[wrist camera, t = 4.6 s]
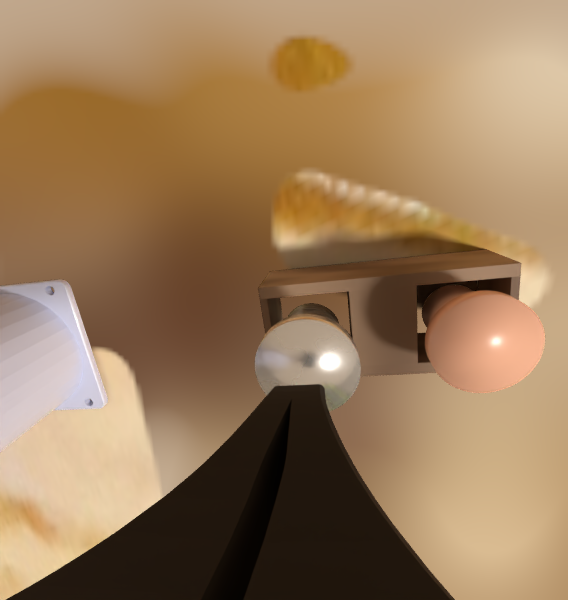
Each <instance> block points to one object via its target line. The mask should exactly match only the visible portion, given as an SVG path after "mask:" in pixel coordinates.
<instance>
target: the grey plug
mask: <svg viewBox="0 0 568 600" xmlns="http://www.w3.org/2000/svg"><path fill="white" fill-rule="evenodd" d="M255 373H256V377H257V380H258V382H259V385H260V386H261V388H262V390H263V391H264V393H265V394H266V395H268V393H269V392H270V391H271V390H272V389H273V388H274V387H275V386H287V385H310V384H321V385H322V386H323V387H324V388H325V395H326V404H327V407H328V410H329V411H332V410H334V409H336V408H338V407H340V406H341V405H343V404H344V403H345V402H346V401H348V399H349V398H350V397H351V396H352V395H353V393H354V392H355V390H356V388H357V386H358V383H359V380H360V374H361V366H360V359H359V353H358V349H357V346H356V344H355V342H354V340H353V339H352V337H351V335H350V334H349V333H348V332H347V331H346V330H345V329H344V328H343V327H342V326H341V325H339V322H338V319H337V317H336V316H335V314H334V313H333V312H332V311H331V310H329V309H328V308H327V307H325V306H322V305H319V304H314V303H310V304H304V305H301V306H298V307H297V308H295V309H294V310H293V311H292V312H291V313H290V314H289V315H288V317H287V318H285V319H283V320H281V321H279V322H277V323H276V324H275V325H273V326H272V327H271V328H270V329H269V330H268V331H267V333H266V334H265V336H264V337H263V339H262V341H261V344H260V346H259V348H258V351H257V353H256V358H255Z"/></svg>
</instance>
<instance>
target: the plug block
mask: <svg viewBox="0 0 568 600" xmlns="http://www.w3.org/2000/svg"><path fill="white" fill-rule="evenodd" d="M520 275H521V263H520V262H517V261H515V260H512V259H510V258H507V257H504V256H502V255H499V254H497V253H494V252H492V251H489V250H487V249H484V250H475V251H465V252H455V253H445V254H435V255H426V256H416V257H406V258H396V259H386V260H376V261H367V262H357V263H347V264H337V265H327V266H318V267H308V268H298V269H288V270H279V271H270V272H269V274H268V275H267V277H266V278H265V279H264V280H263V282H262V283H261V285H260V286H259V287H258V290H259V297H260V303H261V309H262V316H263V321H264V328H265V334H266V333H267V331H268V330H269V329H270V328H271V327H272V326H273V325H275V324H276V323H277V322H279V321H281V320H283V317H282V311H281V310H282V309H281V302H280V297H292V296H303V295H314V294H324V293H325V294H326V293H337V292H347V294H348V305H349V306H348V307H349V319H350V332H351V337H352V339H353V340H354V342H355V344H356V346H357V349H358V353H359V359H360V366H361V374H360V376H378V375H399V374H419V373H437V372H436V371H435V369H434V367H433V366H432V364H431V362H430V360H429V358H428V356H427V353H426V349H425V335H426V333H417V285H427V284H439V283H450V282H461V281H473V280H478V291H484V290H489V291H497V292H502V293H505V294H507V295H510V296H512V297H514V298H515V299H517V300H519V288H520Z"/></svg>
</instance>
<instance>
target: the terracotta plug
mask: <svg viewBox="0 0 568 600" xmlns="http://www.w3.org/2000/svg"><path fill="white" fill-rule="evenodd" d="M422 318H423V321H424V323H425V325H426V327H427V331H426V335H425V349H426V353H427V356H428V358H429V360H430V362H431V364H432V366H433V367H434V369H435V371H436V372H437V374H438V375H439V376H440V377H441V378H442V379H443V380H444V381H445V382H447V383H448V384H449V385H451V386H453V387H455V388H457V389H460V390H463V391H467V392H473V393H488V392H495V391H499V390H502V389H505V388H508V387H510V386H512V385H514V384H516V383H518V382H519V381H521V380H522V379H524V378H525V377H526V376H527V375H528V374H529V373H530V372H531V371H532V370H533V369H534V368H535V366H536V365H537V363H538V362H539V360H540V358H541V356H542V353H543V350H544V345H545V333H544V329H543V325H542V323H541V321H540V319H539V317H538V316H537V315H536V313H535V312H534V311H533V310H532V309H531V308H530V307H528V306H527V305H525V304H524V303H522V302H520V301H519V300H517V299H515V298H514V297H512V296H510V295H507V294H505V293H502V292H497V291H489V290H484V291H472V290H471V289H469V288H467V287H465V286H462V285H446V286H443V287H440V288H438V289H436V290H435V291H434V292H432V293H431V294H430V295H429V296H428V297H427V299H426V300H425V302H424V305H423V308H422Z"/></svg>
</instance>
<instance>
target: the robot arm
mask: <svg viewBox="0 0 568 600" xmlns="http://www.w3.org/2000/svg"><path fill="white" fill-rule="evenodd" d="M51 287H52V288H53V289H54V292H55V293H54V292H53V291H52V289H51ZM90 399H91V400H92V401H93V402H92V401H91V400H90ZM107 402H108V398H107V395H106V392H105V389H104V386H103V383H102V380H101V377H100V374H99V371H98V368H97V365H96V362H95V359H94V356H93V353H92V349H91V346H90V343H89V340H88V337H87V335H86V331H85V328H84V325H83V322H82V319H81V316H80V313H79V310H78V307H77V305H76V301H75V298H74V295H73V292H72V289H71V286H70V284H69V283H68V282H67V281H65V280H63V279H57V280H48V281H38V282H30V283H20V284H12V285H2V286H0V452H2V451H3V450H4V449H5V448H7V447H8V446H9V445H10V444H12V443H13V442H14V441H15V440H17V439H18V438H19V437H20V436H22V435H23V434H24V433H25V432H27V431H28V430H29V429H30V428H32V427H33V426H34V425H35V424H37V423H38V422H39V421H40V420H42V419H43V418H44V417H45V416H47V415H48V414H49V413H50V412H52V411H53V410H74V409H100V408H103V407H104V406H105V405H106V404H107ZM6 600H455V599H454V598H453V597H452V596H451V595H450V594H449V593H448V591H447V590H446V589H445V588H444V587H443V586H442V584H441V583H440V582H439V581H438V580H437V579H436V578H435V576H434V575H433V574H432V573H431V572H430V570H429V569H428V568H427V567H426V565H425V564H424V563H423V562H422V560H421V559H420V558H419V556H418V555H417V554H416V553H415V551H414V550H413V549H412V548H411V546H410V545H409V544H408V543H407V541H406V540H405V539H404V537H403V536H402V535H401V534H400V532H399V531H398V530H397V529H396V527H395V526H394V525H393V524H392V522H391V521H390V519H389V518H388V516H387V515H386V514H385V512H384V511H383V509H382V508H381V506H380V505H379V504H378V502H377V501H376V500H375V498H374V496H373V495H372V493H371V492H370V490H369V489H368V487H367V485H366V484H365V482H364V481H363V479H362V478H361V476H360V474H359V473H358V471H357V469H356V468H355V466H354V464H353V462H352V460H351V458H350V457H349V455H348V453H347V451H346V449H345V447H344V445H343V443H342V441H341V439H340V437H339V435H338V433H337V430H336V428H335V426H334V424H333V421H332V419H331V416H330V413H329V410H328V407H327V404H326V395H325V388H324V387H323V386H322V385H321V384H310V385H287V386H275V387H274V388H273V389H272V390H271V391H270V392H269V393H268V395H267V396H266V397H265V398H264V399H263V401H262V402H261V403H260V404H259V405H258V406H257V408H256V409H255V410H254V411H253V412H252V413H251V415H250V416H249V417H248V418H247V419H246V420H245V421H244V422H243V424H242V425H241V426H240V427H239V428H238V429H237V430H236V431H235V432H234V434H233V435H232V436H231V437H230V438H229V439H228V440H227V441H226V442H225V443H224V444H223V445H222V446H221V447H220V448H219V449H218V450H217V451H216V452H215V453H214V454H213V455H212V456H211V457H210V458H209V459H208V460H207V461H206V462H205V463H204V464H202V465H201V466H200V467H199V468H198V469H197V470H196V471H195V472H193V473H192V474H191V475H190V476H189V477H188V478H186V479H185V480H184V481H183V482H182V483H180V484H179V485H178V486H177V487H176V488H174V489H173V490H172V491H171V492H170V493H168V494H167V495H166V496H165V497H163V498H162V499H161V500H159V501H158V502H157V503H155V504H154V505H152V506H151V507H150V508H148V509H147V510H146V511H144V512H143V513H142V514H140V515H139V516H137V517H136V518H135V519H133V520H132V521H131V522H129V523H128V524H127V525H125V526H124V527H122V528H121V529H120V530H118V531H117V532H115V533H114V534H112V535H111V536H110V537H108V538H106V539H105V540H103V541H102V542H100V543H99V544H97V545H96V546H94V547H93V548H91V549H90V550H88V551H87V552H85V553H84V554H82V555H80V556H79V557H77V558H76V559H74V560H72V561H71V562H69V563H68V564H66V565H64V566H63V567H61V568H60V569H58V570H56V571H55V572H53V573H52V574H50V575H48V576H46V577H45V578H43V579H41V580H40V581H38V582H36V583H35V584H33V585H31V586H30V587H28V588H26V589H24V590H22V591H21V592H19V593H17V594H15V595H13V596H12V597H10V598H8V599H6Z"/></svg>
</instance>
